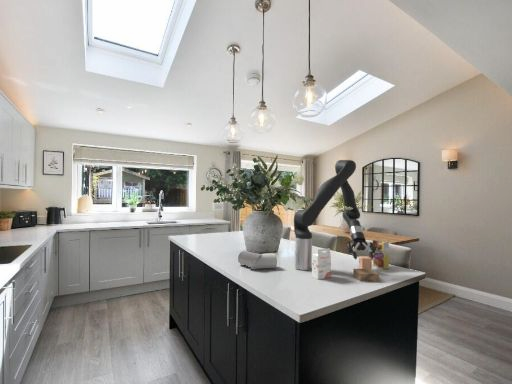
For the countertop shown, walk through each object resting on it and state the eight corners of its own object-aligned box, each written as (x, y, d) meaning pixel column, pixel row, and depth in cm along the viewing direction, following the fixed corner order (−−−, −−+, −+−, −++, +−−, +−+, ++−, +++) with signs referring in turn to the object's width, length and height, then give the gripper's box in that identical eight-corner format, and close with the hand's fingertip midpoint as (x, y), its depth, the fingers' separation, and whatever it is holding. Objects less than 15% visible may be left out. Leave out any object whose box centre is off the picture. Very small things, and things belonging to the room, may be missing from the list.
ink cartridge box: (324, 274, 137) (324, 246, 137) (331, 277, 132) (331, 248, 133) (311, 276, 133) (311, 247, 133) (318, 279, 128) (318, 249, 129)
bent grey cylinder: (241, 270, 139) (278, 268, 143) (241, 250, 141) (276, 249, 146) (237, 269, 156) (269, 267, 160) (236, 251, 158) (268, 249, 162)
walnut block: (360, 281, 127) (360, 273, 127) (353, 276, 136) (353, 268, 136) (378, 282, 127) (378, 273, 127) (370, 276, 136) (370, 268, 136)
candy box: (372, 265, 158) (372, 239, 158) (377, 264, 159) (377, 239, 159) (383, 269, 149) (383, 242, 150) (389, 268, 151) (389, 242, 151)
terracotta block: (362, 273, 141) (362, 258, 141) (359, 270, 146) (359, 256, 146) (371, 273, 140) (371, 258, 140) (368, 270, 145) (368, 256, 145)
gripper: (346, 231, 155) (352, 254, 143) (371, 231, 154) (379, 255, 142) (343, 238, 160) (349, 262, 148) (367, 239, 159) (375, 262, 147)
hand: (363, 258), depth 145 cm, fingers open, 8 cm apart
